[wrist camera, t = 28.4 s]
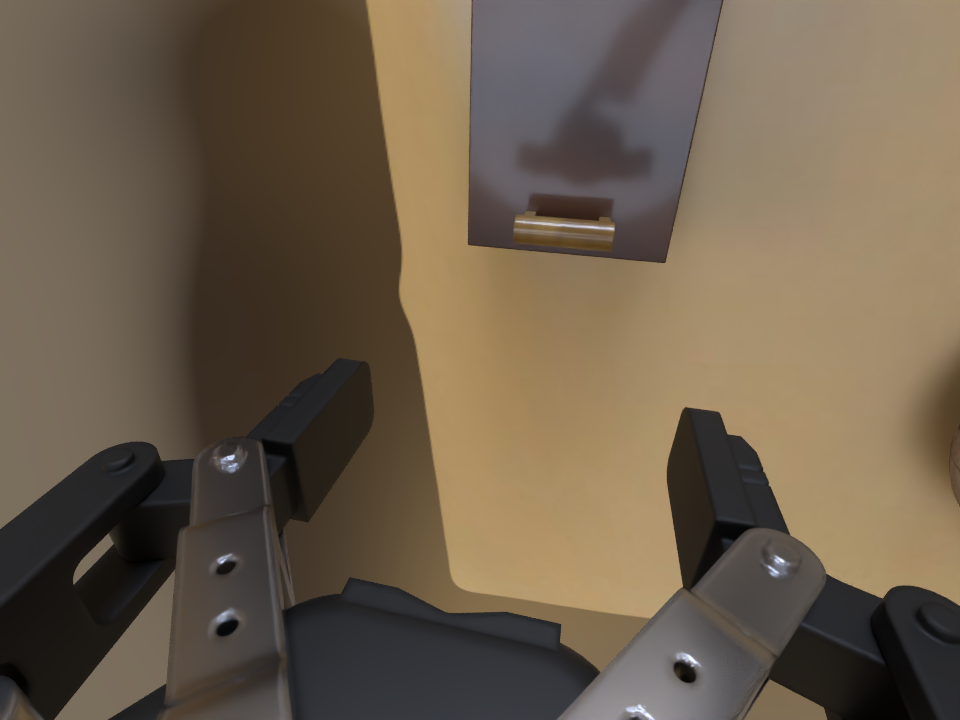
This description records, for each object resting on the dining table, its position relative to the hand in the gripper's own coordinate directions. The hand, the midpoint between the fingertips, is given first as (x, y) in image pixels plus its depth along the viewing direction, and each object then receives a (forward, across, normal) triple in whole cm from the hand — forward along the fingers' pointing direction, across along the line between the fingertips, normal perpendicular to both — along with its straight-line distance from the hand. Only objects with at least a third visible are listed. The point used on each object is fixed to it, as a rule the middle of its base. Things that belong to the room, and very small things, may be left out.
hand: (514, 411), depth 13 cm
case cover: (+22, 0, -5) cm, 22 cm away
